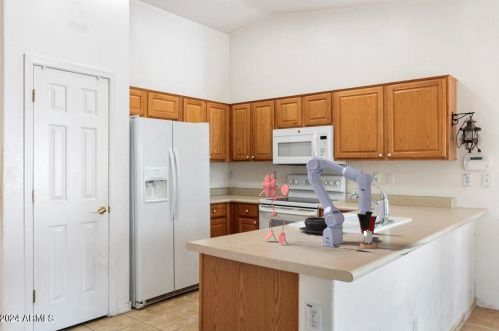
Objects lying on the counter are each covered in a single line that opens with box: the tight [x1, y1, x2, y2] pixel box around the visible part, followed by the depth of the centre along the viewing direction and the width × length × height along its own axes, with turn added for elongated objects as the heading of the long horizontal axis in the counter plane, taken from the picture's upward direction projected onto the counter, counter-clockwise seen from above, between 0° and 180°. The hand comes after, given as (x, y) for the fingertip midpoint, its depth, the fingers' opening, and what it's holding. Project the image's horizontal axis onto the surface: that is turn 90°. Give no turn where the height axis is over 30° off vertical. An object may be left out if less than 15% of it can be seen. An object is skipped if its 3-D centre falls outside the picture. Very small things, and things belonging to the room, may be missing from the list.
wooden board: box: [357, 239, 382, 254], centre depth 179 cm, size 23×8×2 cm, turn 156°
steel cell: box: [363, 230, 373, 245], centre depth 172 cm, size 4×4×8 cm
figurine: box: [258, 174, 290, 245], centre depth 193 cm, size 15×26×35 cm, turn 32°
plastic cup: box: [358, 214, 379, 235], centre depth 209 cm, size 11×11×12 cm
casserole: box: [299, 216, 328, 235], centre depth 222 cm, size 25×19×8 cm
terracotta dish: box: [359, 242, 376, 250], centre depth 172 cm, size 7×7×2 cm
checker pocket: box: [372, 236, 380, 243], centre depth 186 cm, size 7×7×2 cm
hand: (365, 228), depth 177 cm, fingers open, 7 cm apart
